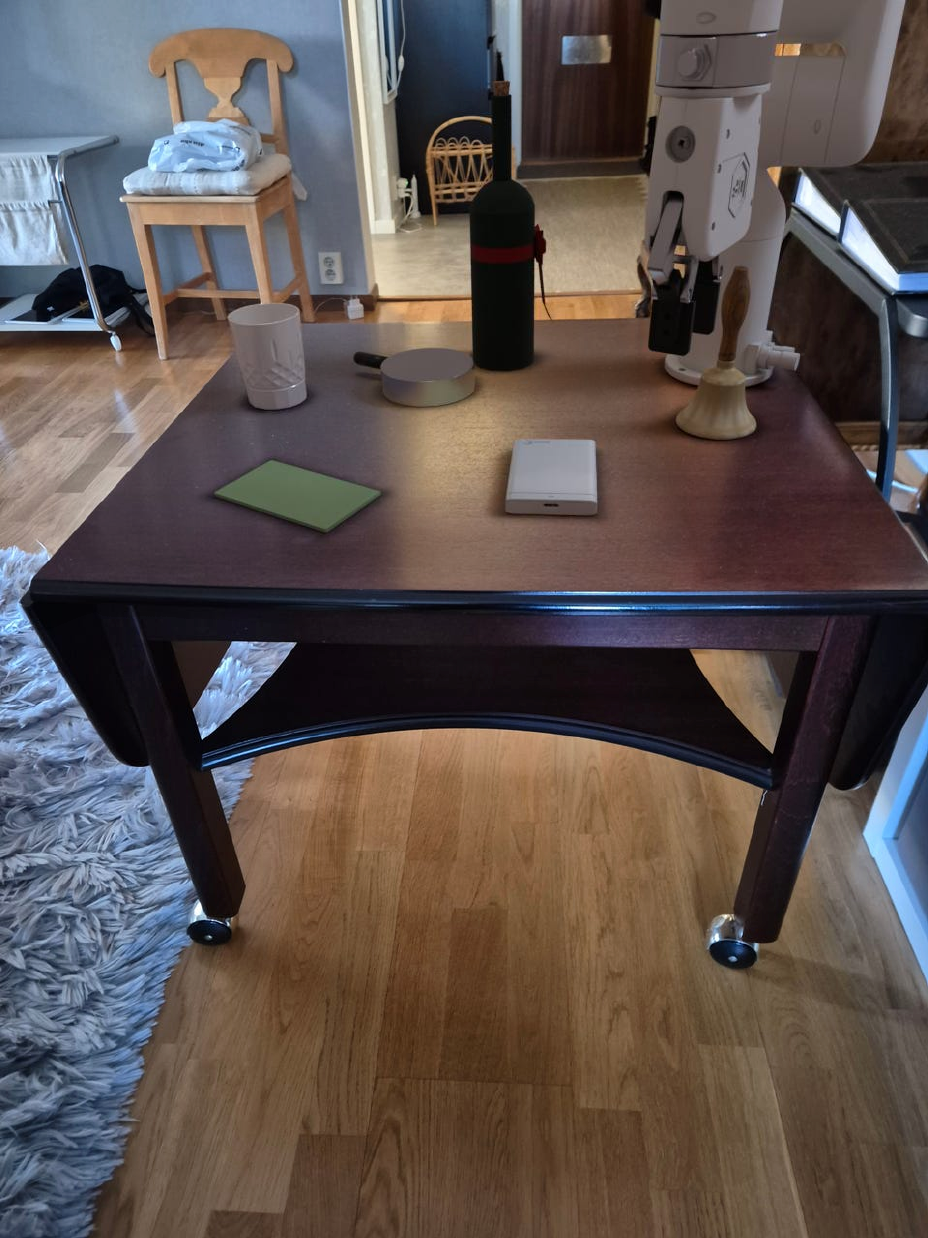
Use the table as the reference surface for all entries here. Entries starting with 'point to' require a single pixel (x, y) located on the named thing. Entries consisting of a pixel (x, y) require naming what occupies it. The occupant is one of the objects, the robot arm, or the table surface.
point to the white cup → (270, 354)
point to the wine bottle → (503, 255)
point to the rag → (298, 495)
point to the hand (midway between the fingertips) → (681, 339)
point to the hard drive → (552, 477)
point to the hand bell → (723, 375)
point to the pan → (423, 375)
